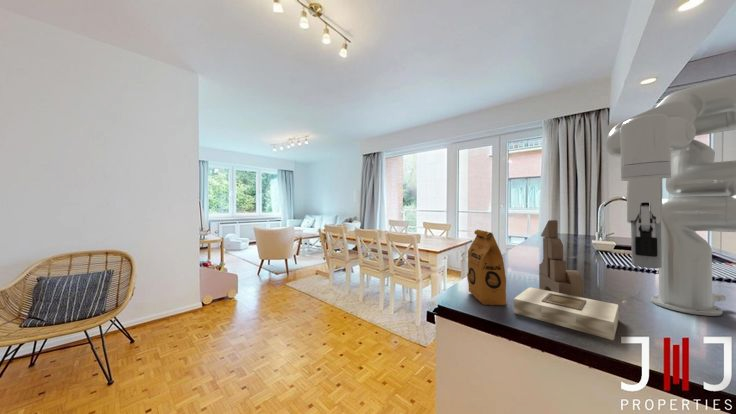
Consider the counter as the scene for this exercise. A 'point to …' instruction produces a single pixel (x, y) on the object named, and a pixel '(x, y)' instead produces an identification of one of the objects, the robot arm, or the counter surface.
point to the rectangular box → (569, 311)
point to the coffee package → (486, 270)
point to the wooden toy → (557, 265)
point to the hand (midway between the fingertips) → (646, 253)
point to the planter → (647, 260)
